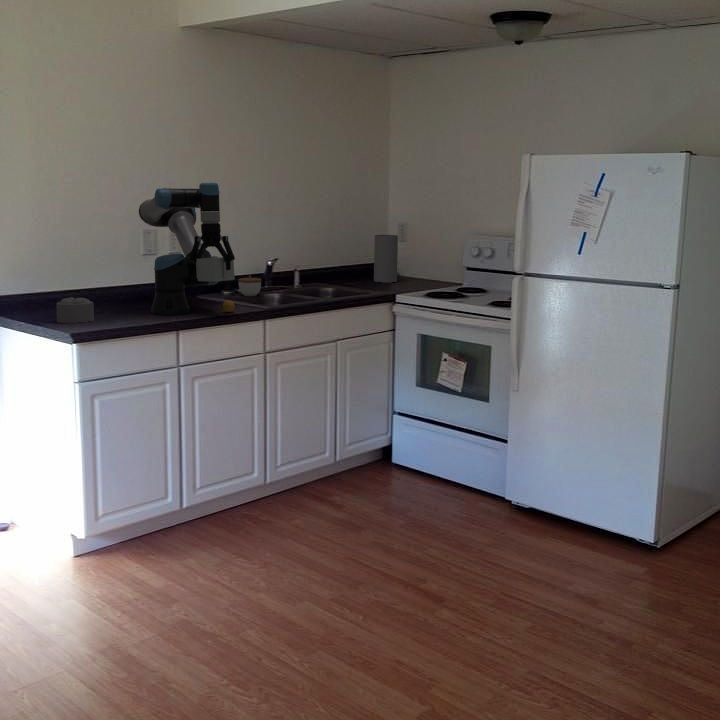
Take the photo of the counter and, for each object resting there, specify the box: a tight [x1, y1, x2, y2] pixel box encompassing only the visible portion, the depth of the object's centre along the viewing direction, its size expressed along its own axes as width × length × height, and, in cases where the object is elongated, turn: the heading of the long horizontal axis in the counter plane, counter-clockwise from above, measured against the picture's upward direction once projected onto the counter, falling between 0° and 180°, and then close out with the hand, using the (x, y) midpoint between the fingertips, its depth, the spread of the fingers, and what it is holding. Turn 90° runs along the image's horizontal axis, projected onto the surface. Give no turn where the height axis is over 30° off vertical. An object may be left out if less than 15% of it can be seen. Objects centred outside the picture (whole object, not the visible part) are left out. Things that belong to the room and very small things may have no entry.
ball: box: [221, 299, 236, 313], centre depth 367 cm, size 5×5×5 cm
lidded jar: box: [237, 274, 262, 297], centre depth 422 cm, size 11×11×9 cm
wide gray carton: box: [197, 256, 235, 282], centre depth 357 cm, size 10×10×9 cm
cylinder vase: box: [373, 234, 399, 284], centre depth 486 cm, size 12×12×25 cm
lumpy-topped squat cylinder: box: [55, 296, 95, 324], centre depth 339 cm, size 10×13×9 cm
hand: (213, 278), depth 356 cm, fingers closed on wide gray carton, 12 cm apart
